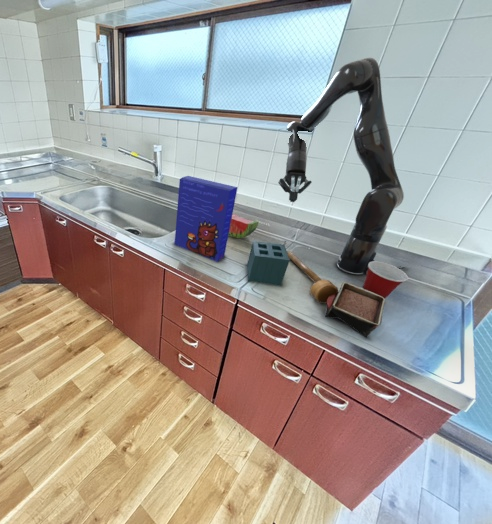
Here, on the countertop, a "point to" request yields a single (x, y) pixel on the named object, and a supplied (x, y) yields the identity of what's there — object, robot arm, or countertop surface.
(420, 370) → the countertop surface
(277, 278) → the holder
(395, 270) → the plastic cup
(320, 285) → the wooden mallet
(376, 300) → the baking dish
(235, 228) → the fruit slice
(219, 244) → the cereal box
